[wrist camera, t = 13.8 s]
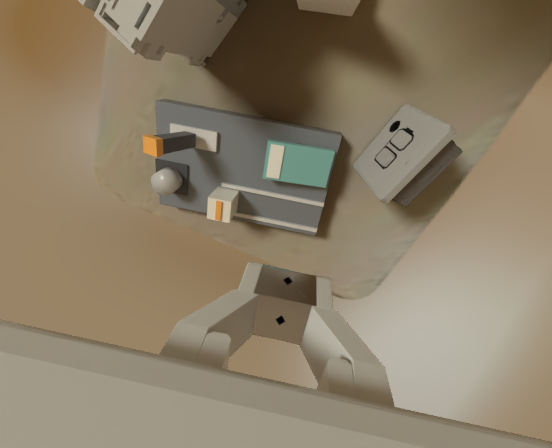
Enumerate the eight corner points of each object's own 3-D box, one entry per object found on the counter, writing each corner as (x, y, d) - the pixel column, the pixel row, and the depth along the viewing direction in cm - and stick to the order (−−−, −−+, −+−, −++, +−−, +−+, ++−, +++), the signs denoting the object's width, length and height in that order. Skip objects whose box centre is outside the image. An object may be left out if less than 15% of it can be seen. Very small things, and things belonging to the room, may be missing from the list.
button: (159, 164, 37) (150, 169, 35) (182, 169, 37) (174, 174, 35) (160, 186, 38) (151, 192, 36) (182, 191, 38) (175, 197, 36)
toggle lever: (184, 129, 34) (142, 135, 28) (196, 133, 33) (156, 139, 28) (184, 144, 35) (144, 152, 29) (196, 148, 34) (156, 157, 29)
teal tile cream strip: (262, 175, 35) (262, 178, 34) (267, 139, 33) (267, 140, 32) (324, 185, 36) (325, 188, 34) (333, 149, 33) (335, 151, 32)
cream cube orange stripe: (217, 186, 38) (207, 197, 34) (239, 190, 38) (230, 202, 34) (216, 206, 39) (206, 219, 35) (237, 210, 39) (228, 223, 35)
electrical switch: (404, 101, 33) (441, 115, 25) (434, 127, 34) (478, 148, 26) (350, 164, 37) (367, 193, 29) (379, 185, 38) (402, 218, 30)
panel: (163, 98, 36) (150, 100, 33) (340, 132, 35) (342, 136, 32) (166, 197, 42) (156, 205, 40) (315, 227, 42) (315, 238, 39)
